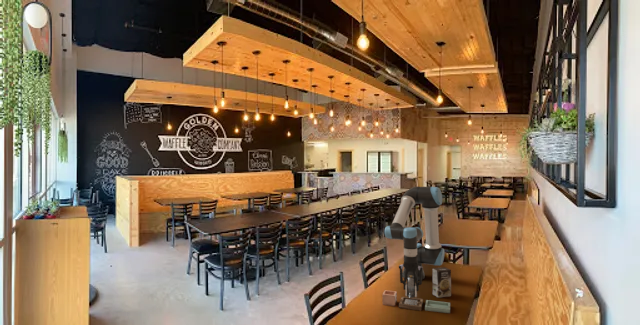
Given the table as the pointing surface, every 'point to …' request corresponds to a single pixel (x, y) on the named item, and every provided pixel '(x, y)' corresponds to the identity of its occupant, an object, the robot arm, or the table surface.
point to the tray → (437, 306)
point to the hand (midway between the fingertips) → (411, 295)
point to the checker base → (414, 307)
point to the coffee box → (441, 282)
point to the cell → (410, 286)
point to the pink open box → (389, 297)
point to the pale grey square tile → (411, 302)
